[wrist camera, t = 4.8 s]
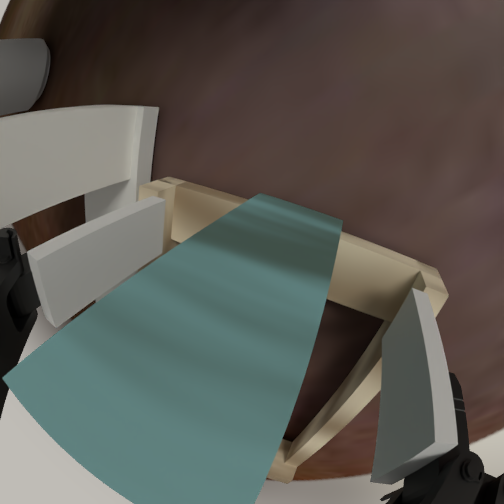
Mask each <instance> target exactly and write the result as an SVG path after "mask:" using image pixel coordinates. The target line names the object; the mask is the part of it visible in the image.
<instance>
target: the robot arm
mask: <svg viewBox="0 0 504 504" xmlns="http://www.w3.org/2000/svg"><path fill="white" fill-rule="evenodd" d="M165 203H166V200H165V199H162V198H159V197H156V196H151V197H148V198H145V199H143V200H140V201H138V202H135V203H132V204H130V205H127V206H125V207H122V208H120V209H118V210H115V211H113V212H110V213H108V214H106V215H103V216H101V217H99V218H96V219H94V220H92V221H89V222H87V223H85V224H83V225H80V226H78V227H76V228H74V229H72V230H70V231H68V232H65V233H63V234H61V235H59V236H57V237H55V238H53V239H51V240H49V241H47V242H45V243H43V244H41V245H39V246H37V247H35V248H33V249H31V250H29V251H28V252H27V253H25V254H23V255H21V253H20V248H19V243H18V238H17V232H16V230H15V229H12V228H3V229H0V418H1V414H2V411H3V407H4V403H5V400H6V396H7V393H8V390H9V387H8V385H7V384H6V383H5V381H4V380H3V377H4V376H5V375H6V374H7V373H8V372H10V371H11V370H12V369H13V368H14V367H15V366H17V364H18V361H19V359H20V356H21V354H22V351H23V348H24V346H25V344H26V341H27V339H28V337H29V334H30V332H31V330H32V328H33V326H34V324H35V321H36V319H37V315H38V313H37V310H36V308H38V307H39V306H41V307H42V310H43V313H44V316H45V318H46V319H47V320H48V321H49V322H50V323H51V324H52V325H53V326H54V327H55V328H57V327H59V326H60V325H61V324H63V323H64V322H65V321H66V320H68V319H69V318H70V317H72V316H73V315H74V314H76V313H77V312H79V311H80V310H81V309H83V308H84V307H85V306H87V305H88V304H89V303H91V302H92V301H94V300H95V299H96V298H98V297H99V296H101V295H102V294H103V293H105V292H106V291H108V290H109V289H110V288H112V287H113V286H115V285H116V284H117V283H119V282H120V281H122V280H123V279H125V278H126V277H128V276H129V275H130V274H132V273H133V272H135V271H136V270H138V269H139V268H141V267H142V266H144V265H145V264H147V263H148V262H150V261H151V260H153V259H154V258H156V257H157V256H159V255H160V254H162V248H163V230H164V215H165ZM462 400H463V395H462V390H461V386H460V384H459V382H458V380H457V378H456V376H455V374H454V373H450V372H448V367H447V363H446V358H445V354H444V349H443V345H442V341H441V337H440V334H439V330H438V326H437V323H436V319H435V316H434V312H433V309H432V306H431V303H430V300H429V297H428V294H427V293H424V292H422V291H419V290H417V289H414V288H412V289H411V291H410V292H409V294H408V296H407V298H406V300H405V301H404V303H403V305H402V307H401V308H400V310H399V312H398V313H397V315H396V317H395V318H394V320H393V322H392V323H391V325H390V327H389V328H388V330H387V331H386V333H385V334H384V336H383V338H382V376H381V398H380V412H379V423H378V433H377V442H376V449H375V456H374V463H373V469H372V475H371V481H370V482H375V483H383V484H394V483H396V482H398V481H399V480H402V479H403V478H404V486H403V487H402V488H400V489H398V490H396V491H394V492H391V493H389V494H387V495H385V496H384V497H383V498H381V499H380V500H381V501H384V500H386V499H389V498H390V500H389V501H388V502H387V503H386V504H504V473H503V474H502V475H500V476H499V477H497V478H495V477H493V476H491V475H488V474H486V473H484V466H483V463H482V460H481V459H480V457H479V456H478V455H477V454H475V453H474V452H471V451H470V450H469V438H468V429H467V421H466V413H465V412H464V410H465V407H464V402H463V401H462Z"/></svg>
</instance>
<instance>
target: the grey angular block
mask: <svg viewBox="0 0 504 504" xmlns="http://www.w3.org/2000/svg"><path fill="white" fill-rule="evenodd" d="M158 112H159V107H149V106H133V105H89V106H77V107H66V108H56V109H48V110H41V111H34V112H28V113H22V114H17V115H12V116H7V117H2V118H0V229H1V228H3V227H5V226H7V225H10V224H12V223H14V222H16V221H18V220H20V219H23V218H25V217H27V216H29V215H32V214H34V213H36V212H39V211H41V210H44V209H46V208H48V207H51V206H53V205H56V204H59V203H61V202H64V201H66V200H69V199H72V198H74V197H77V196H80V195H83V194H85V217H86V223H87V222H89V221H92V220H94V219H96V218H99V217H101V216H103V215H106V214H108V213H110V212H113V211H115V210H118V209H120V208H122V207H125V206H127V205H130V204H132V203H135V202H138V199H139V186H140V185H143V184H146V183H150V180H151V169H152V159H153V149H154V141H155V133H156V125H157V118H158ZM137 273H138V270H136V271H135V272H133V273H132V274H130V275H129V276H128V277H126V278H125V279H123V280H122V281H120V282H119V283H117V284H116V285H115V286H113V287H112V288H110V289H109V290H108V291H106V292H105V293H103V294H102V295H101V296H99V297H98V298H96V299H95V300H96V302H98V301H99V300H100V299H102V298H103V297H105V296H106V295H107V294H109V293H110V292H111V291H113V290H114V289H116V288H117V287H118V286H120V285H121V284H123V283H124V282H125V281H127V280H128V279H130V278H131V277H132V276H134V275H135V274H137Z"/></svg>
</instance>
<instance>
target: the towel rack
mask: <svg viewBox="0 0 504 504" xmlns="http://www.w3.org/2000/svg"><path fill="white" fill-rule="evenodd" d="M151 196H156V197H159V198H162V199H165V200H166V203H165V215H164V230H163V248H162V254H160V255H159V256H157V257H156V258H154V259H153V260H151V261H150V262H148V263H147V264H145V265H144V266H142V267H141V268H139V269H138V273H137V274H135V275H134V276H132V277H131V278H130V279H128V280H127V281H125V282H124V283H123V284H121V285H120V286H118V287H117V288H116V289H114V290H113V291H111V292H110V293H109V294H107V295H106V296H105V297H103V298H102V299H100V300H99V301H98V302H96V303H95V304H94V305H92V306H91V307H90V308H88V309H87V310H86V311H84V312H83V313H82V314H80V315H79V316H78V317H76V318H75V319H74V320H73V321H71V322H70V323H69V324H67V325H66V326H65V327H63V328H62V329H61V330H60V331H59V332H57V333H56V334H55V335H53V336H52V337H51V338H49V340H47V341H46V342H44V343H43V344H42V345H41V346H40V347H38V348H37V349H36V350H35V351H33V352H32V353H31V354H30V355H29V356H27V357H26V358H25V359H24V360H23V361H21V362H20V363H19V364H18V365H17V366H15V367H14V368H13V369H12V370H11V371H10V372H8V373H7V374H6V375H5V376H4V377H3V380H4V381H5V383H6V384H7V385H8V387H9V388H10V390H11V391H12V392H13V393H14V395H15V396H16V397H17V399H18V400H19V401H20V402H21V404H22V405H23V406H24V407H25V409H26V410H27V411H28V412H29V413H30V415H31V416H33V418H34V419H35V420H36V421H37V422H38V424H39V425H40V426H41V427H42V428H43V429H44V430H45V431H46V432H47V433H48V434H49V435H50V436H51V437H52V438H53V439H54V440H55V441H56V442H57V443H58V444H59V445H60V446H61V447H62V448H63V449H64V450H65V451H66V452H67V453H68V454H69V455H70V456H72V457H73V458H74V459H75V460H76V461H77V462H78V463H80V464H81V465H82V466H83V467H84V468H85V469H87V470H88V471H89V472H91V473H92V474H93V475H94V476H95V477H97V478H98V479H99V480H101V481H102V482H103V483H105V484H106V485H107V486H109V487H110V488H111V489H113V490H114V491H116V492H117V493H119V494H120V495H122V496H123V497H125V498H126V499H128V500H129V501H131V502H132V503H134V504H254V503H255V501H256V499H257V497H258V495H259V492H260V490H261V488H262V486H263V484H264V481H265V479H266V477H267V478H270V479H273V480H276V481H280V482H283V483H286V484H288V483H290V482H291V481H292V479H293V476H294V474H295V471H296V468H297V466H299V465H300V464H301V463H303V462H304V461H305V460H306V459H308V458H309V457H310V456H311V455H313V454H314V453H315V452H316V451H318V450H319V449H320V448H321V447H322V446H323V445H325V444H326V443H327V442H328V441H329V440H330V439H331V438H333V437H334V436H335V435H336V434H337V433H338V432H339V431H340V430H341V429H342V428H343V427H345V426H346V425H347V424H348V423H349V422H350V421H351V420H352V419H353V418H354V417H355V416H356V415H357V414H358V413H359V412H360V411H361V410H362V409H363V408H364V407H365V406H366V405H367V404H368V403H369V401H370V400H371V399H372V398H373V397H374V396H375V395H376V394H377V393H378V392H379V391H380V389H381V376H382V338H383V336H384V334H385V333H386V331H387V330H388V328H389V327H390V325H391V323H392V322H393V320H394V318H395V317H396V315H397V313H398V312H399V310H400V308H401V307H402V305H403V303H404V301H405V300H406V298H407V296H408V294H409V292H410V291H411V289H412V288H414V289H417V290H419V291H422V292H424V293H427V294H428V297H429V300H430V303H431V306H432V309H433V312H434V316H435V317H436V316H437V314H438V313H439V311H440V309H441V308H442V306H443V305H444V303H445V301H446V300H447V298H448V296H449V295H448V293H447V290H446V288H445V286H444V284H443V281H442V279H441V277H440V275H439V273H438V271H437V269H436V268H433V267H431V266H429V265H426V264H424V263H421V262H419V261H417V260H414V259H412V258H409V257H407V256H404V255H402V254H399V253H397V252H394V251H392V250H389V249H387V248H384V247H382V246H379V245H377V244H374V243H371V242H369V241H366V240H364V239H361V238H358V237H356V236H353V235H350V234H347V233H345V232H342V231H341V230H342V224H343V220H340V219H337V218H334V217H332V216H329V215H326V214H323V213H320V212H317V211H314V210H311V209H308V208H306V207H303V206H300V205H297V204H294V203H290V202H287V201H284V200H281V199H278V198H275V197H272V196H269V195H265V194H262V193H259V194H257V195H256V196H254V197H253V198H251V199H249V200H248V199H244V198H241V197H238V196H235V195H231V194H228V193H225V192H221V191H218V190H215V189H211V188H208V187H204V186H201V185H197V184H194V183H190V182H187V181H183V180H180V179H176V178H172V177H166V178H163V179H159V180H156V181H153V182H150V183H146V184H143V185H140V186H139V199H138V201H140V200H143V199H145V198H148V197H151ZM180 243H181V244H180ZM326 299H328V300H331V301H333V302H336V303H339V304H342V305H344V306H347V307H350V308H353V309H355V310H358V311H361V312H364V313H366V314H369V315H372V316H375V317H378V318H380V319H383V320H384V322H383V324H382V325H381V327H380V328H379V330H378V332H377V333H376V335H375V336H374V338H373V340H372V341H371V343H370V344H369V346H368V347H367V349H366V350H365V352H364V353H363V355H362V356H361V358H360V359H359V360H358V362H357V363H356V365H355V366H354V368H353V369H352V370H351V372H350V373H349V375H348V376H347V377H346V379H345V380H344V381H343V383H342V384H341V385H340V387H339V388H338V389H337V390H336V392H335V393H334V394H333V396H332V397H331V398H330V399H329V401H328V402H327V403H326V404H325V406H324V407H323V408H322V409H321V410H320V412H319V413H318V414H317V415H316V416H315V418H314V419H313V420H312V421H311V422H310V423H309V424H308V426H307V427H306V428H305V429H304V430H303V431H302V432H301V433H300V434H299V436H298V437H297V438H296V439H295V440H294V441H293V442H290V441H287V440H284V439H282V438H283V436H284V433H285V431H286V428H287V425H288V422H289V420H290V417H291V414H292V411H293V409H294V406H295V403H296V400H297V397H298V394H299V391H300V388H301V385H302V382H303V379H304V376H305V373H306V370H307V366H308V363H309V360H310V357H311V353H312V350H313V346H314V343H315V340H316V336H317V332H318V329H319V325H320V321H321V318H322V314H323V310H324V306H325V302H326Z"/></svg>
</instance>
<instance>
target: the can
mask: <svg viewBox="0 0 504 504" xmlns="http://www.w3.org/2000/svg"><path fill="white" fill-rule="evenodd" d="M50 59H51V56H50V50H49V48H48V47H47V45H46V43H45V41H44V39H40V38H28V39H5V40H0V115H5V114H10V113H15V112H20V111H26V110H29V109H30V108H31V107H32V106H33V104H34V103H35V101H36V100H38V99H39V97H40V96H41V94H42V92H43V90H44V87H45V85H46V82H47V78H48V75H49V69H50Z"/></svg>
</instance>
